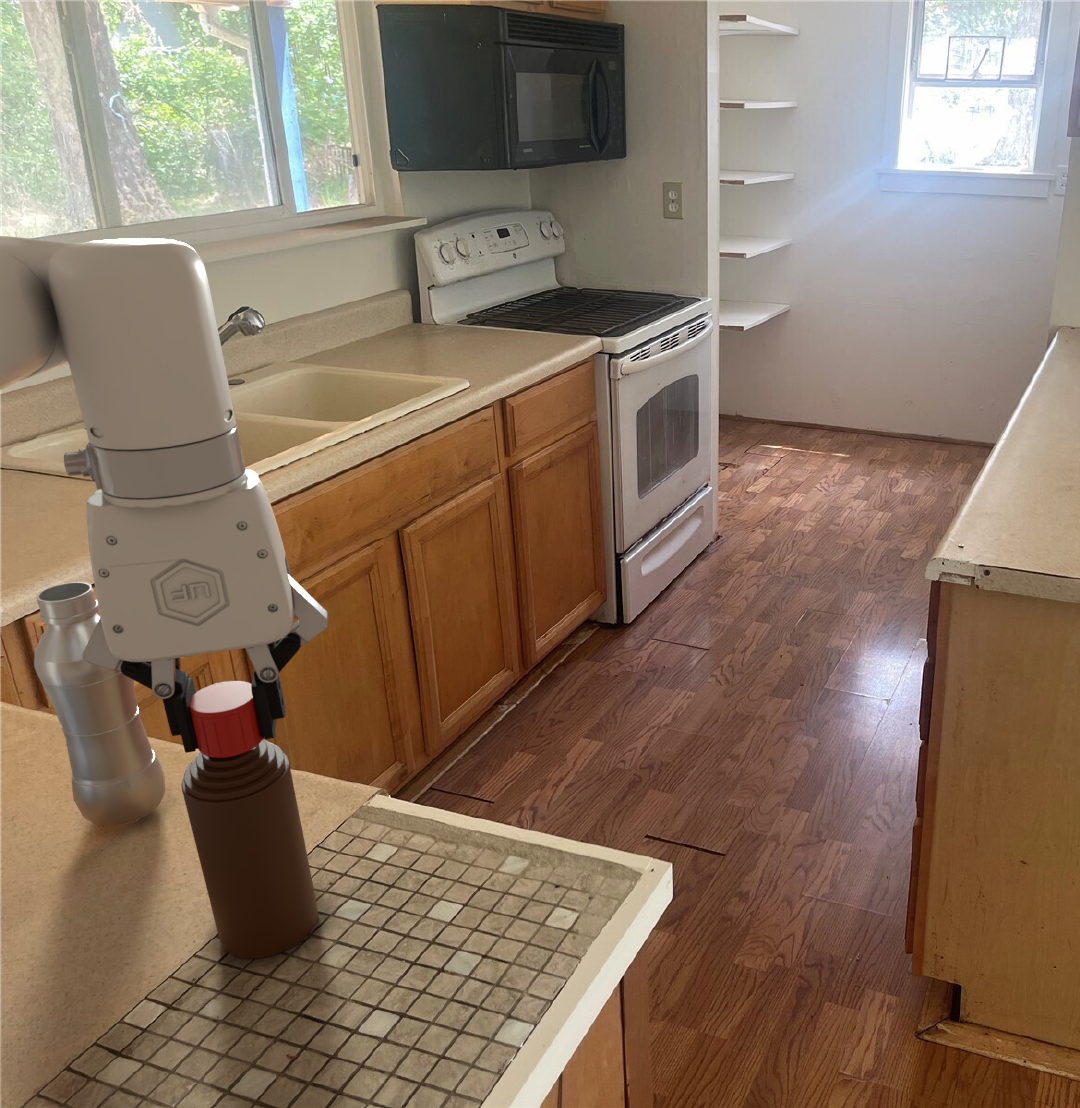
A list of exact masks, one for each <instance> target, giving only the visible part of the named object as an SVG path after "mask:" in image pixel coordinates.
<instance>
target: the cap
mask: <svg viewBox="0 0 1080 1108" xmlns="http://www.w3.org/2000/svg"><path fill="white" fill-rule="evenodd" d="M251 686H252V683H250V682H247V681H243V680H228V681H221V682H216V683H213V684H210V685H208V686H205V687H203V688H201V689H199V690H197V691H196V693H195V694H193V695H192V696H191V698H190V702H189V709H190V714H191V718H192V722H193V727H194V731H195V735H196V740H197V744H198V751H199V753H200V752H201V753H202V754H203V755H205V756H208V757H214V758H224V757H231V756H236V755H239V754H242V753H245V752H247V751H249V750H251V749H253V748H254V747H256V746H257V745H258V744H259V743H260V742H261V741H262V740H263V739H264V738H262V737H261V732H260V728H259V723H258V718H257V714H256V709H255V704H254V700H253V695H252V689H251Z"/></svg>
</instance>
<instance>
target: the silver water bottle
mask: <svg viewBox="0 0 1080 1108" xmlns="http://www.w3.org/2000/svg"><path fill="white" fill-rule="evenodd" d="M95 595H96V594H95V591H94V588H93V586H92V584H90V583H88V582H84V581H71V582H64V583H59V584H56V585H52V586H49V587H47V588H45V589H43V590H41V591H40V592H39V593H38V594H37V595H36V602H37V606H38V608H39V617H40V620H41V621H42V623H44V624H46V627H45V629H44V631H43V633H42V635H41V637H40V639H39V641H38V643H37V646H36V648H35V651H34V659H33V660H34V661H33V667H34V669H35V672H36V675H37V678H38V679H39V681H40V683H41V684H42V687H43V688H44V691H45V693H46V695H47V697H48V698H49V700H50V703H51V705H52V706H53V708H54V711H55V714H56V717H57V719H58V722H59V725H60V726H61V730H62V733H63V735H64V738H65V742H66V748H67V754H68V759H69V763H70V769H71V790H72V798H73V801H74V803H75V805H76V807H77V808H78V810H79V812H80V814H81V816H82V818H84V819H86V820H87V821H89V822H90V823H92V824H94V825H96V826H100V827H118V826H123V825H128V824H131V823H134V822H136V821H139V820H141V819H143V818H145V817H147V816H148V815H150V814H152V813H153V812H154V811H155V810H156V809H157V808H158V807H159V805H160V804H161V802H162V800H163V798H164V796H165V793H166V775H165V771H164V768H163V766H162V764H161V761H160V759H159V758H158V756H157V754H156V753H155V751H154V750H153V748H152V745H151V742H150V740H149V737H148V734H147V732H146V729H145V726H144V723H143V721H142V719H141V714H140V710H139V707H138V700H137V694H136V689H135V680H133V679H131V678H129V677H127V676H125V675H124V674H123V673H122V672H121V671H118V670H115V671H114V670H111V669H107V668H104V667H101V666H98V665H94V664H91V663H88V662H86V661H85V660H84V659H83V652H84V650H85V648H86V646H87V644H88V642H89V639H90V637H91V635H92V633H93V631H94V629H95V627H96V625H97V623H98V621H99V619H100V614H98V613H99V607H98V601H97V597H96V596H95Z"/></svg>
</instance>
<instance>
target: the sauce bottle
mask: <svg viewBox="0 0 1080 1108" xmlns="http://www.w3.org/2000/svg"><path fill="white" fill-rule="evenodd" d="M181 791H182V795H183V800H184V803H185V807H186V812H187V817H188V820H189V823H190V827H191V832H192V835H193V839H194V843H195V847H196V851H197V855H198V859H199V860H198V861H199V864H200V867H201V872H202V876H203V879H204V883H205V888H206V891H207V895H208V899H209V903H210V907H211V911H212V915H213V919H214V923H215V927H216V930H217V935H218V939H219V943H220V945H221V947H222V948H223V950H224V951H226V952H227V953H228V954H229V955H231V956H233V957H237V958H240V959H249V960H250V959H251V960H253V959H262V958H268V957H272V956H275V955H278V954H281V953H283V952H285V951H287V950H289V949H291V948H293V947H294V946H296V945H297V944H299V943H300V942H301V941H302V940H304V939H305V938H306V937H307V936H308V935H309V934H310V932H311V931H312V930H313V929H314V927H315V925H316V923H317V920H318V917H319V908H318V903H317V899H316V894H315V887H314V884H313V883H314V882H313V879H312V873H311V868H310V862H309V856H308V852H307V847H306V841H305V838H304V837H305V836H304V831H303V827H302V822H301V816H300V812H299V806H298V800H297V796H296V792H295V787H294V780H293V775H292V770H291V766H290V760H289V758H288V755H286V753H285V752H284V751H283V750H282V748H281V747H280V746H278V745H276V744H275V743H273V742H270V741H268V740H267V739H265V738H263V740H262V741H261V742H260V743H259V744H258V745H257V746H256V747H254V748H253V749H251V750H249V751H247V752H245V753H242V754H239V755H236V756H231V757H224V758H214V757H208V756H205V755H203V754H202V753H201V752H200V751H199V753H198V754H197V755H196V756H195V757H194V759H193V760H192V762H190V764H189V765H188V766H187V767H186V769H185V771H184V774H183V777H182V781H181Z"/></svg>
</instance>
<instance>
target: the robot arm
mask: <svg viewBox="0 0 1080 1108" xmlns="http://www.w3.org/2000/svg"><path fill="white" fill-rule="evenodd" d="M206 270H207V269H206V267H205V264H204V262H203V260H202V258H201V257H200V255H199V253H198V252H197V251H196V250H195V249H194V248H193V247H192V246H190V245H189V244H187V243H185V242H182V241H177V240H175V239H167V238H152V237H151V238H150V237H149V238H145V237H144V238H143V237H141V238H139V237H138V238H137V237H136V238H117V239H116V238H115V239H103V240H102V239H101V240H90V241H85V242H80V243H79V242H78V243H77V242H64V241H63V242H61V241H54V240H53V241H52V240H44V239H36V238H30V237H29V238H27V237H18V236H7V235H5V236H4V235H0V391H1V390H4V389H6V388H7V387H10V386H12V385H14V384H16V383H19V382H21V381H24V380H26V379H29V378H32V377H35V376H37V375H40V374H43V373H45V372H49V371H50V370H53V369H55V368H58V367H63V366H69V370H70V374H71V378H72V381H73V385H74V389H75V393H76V397H77V400H78V404H79V408H80V411H81V416H82V419H83V423H84V427H85V430H86V435H87V438H88V443H87V444H86V446H85V447H84V448H79V449H78V451H71V452H70V451H68V452H64V454H63V464H64V469H65V471H66V474H67V475H68V476H69V477H72V476H83V477H85V478H91V480H92V482H95V486H96V489H97V490H95V491H94V492H93V493H92V494H91V495H90V496H89V497H88V498H87V500H86V525H87V526H86V527H87V540H88V541H87V542H88V549H89V558H90V565H91V571H92V577H93V584H94V590H95V595H96V596H95V597H96V600H97V601H98V607H99V611H98V613H99V616H100V619H99V621H98V623H97V625H96V627H95V629H94V631H93V633H92V635H91V637H90V639H89V642H88V644H87V646H86V648H85V650H84V652H83V659H84V660H85V661H86V662H88V663H91V664H94V665H98V666H101V667H104V668H107V669H111V670H114V671H115V670H118V671H121V672H122V673H123V674H124V675H125V676H127V677H129V678H131V679H133V680H134V682H137V683H138V684H140V685H142V686H144V687H146V688H148V689H150V690H151V691H152V694H153V696H155V697H156V698H158V699H160V700H162V703H163V707H164V711H165V714H166V719H167V724H168V727H169V730H170V735H171V736H172V737H176V736H180V737H181V741H182V745H183V749H184V752H185V754H187V753H194V752H196V750H197V749H198V744H197V740H196V735H195V731H194V727H193V722H192V718H191V714H190V709H189V702H190V698H191V696H192V695H193V694H195V693H196V692H197V691H196V686H195V683H194V679H193V677H190V675H189V673H186V672H185V671H183V670H182V658H186V657H193V656H201V655H208V654H214V653H221V652H228V651H234V650H241V649H242V650H243V649H245V650H246V653H247V655H248V657H249V660H250V662H251V664H252V666H253V672H252V674H253V675H252V682H251V684H252V686H251V689H252V695H253V700H254V704H255V709H256V714H257V718H258V723H259V728H260V732H261V737H262V738H263V739H264V740H269V739H275V736H276V729H277V721H278V720H279V719H285V718H286V703H285V697H284V692H283V688H282V684H281V678H280V672H281V671H283V669H284V668H285V667H286V666H287V665H288V663H289V662H290V661H291V660H292V659H293V657H294V656H295V655H297V653H298V652H299V651H300V649H301V648H302V647H303V646H304V645H305V644H308V643H309V642H311V641H312V640H313V639H314V638H315V637H317V636H318V635H319V634H321V633H322V632H324V631H325V630H326V629H327V628H328V626H329V623H330V622H329V621H330V620H329V619H330V616H329V615H330V614H329V612H328V611H327V610H326V609H325V608H324V607H323V606H322V605H321V604H320V603H319V602H318V601H317V600H316V599H315V598H314V597H313V596H312V595H310V593H308V591H307V590H305V589H304V588H303V587H302V586H301V585H300V584H299V582H298V581H296V580H295V579H294V578H293V577H292V574H291V570H290V566H289V561H288V558H287V554H286V550H285V546H284V543H283V539H282V536H281V532H280V528H279V526H278V522H277V519H276V516H275V513H274V510H273V507H272V505H271V502H270V499H269V498H268V494H267V492H266V489H265V487H264V485H263V483H262V481H261V479H260V476H259V474H258V473H257V472H256V471H254V470H252V469H246V465H245V460H244V455H243V450H242V444H241V439H240V435H239V434H240V433H239V430H238V429H239V428H238V425H237V420H236V416H235V410H234V406H233V400H232V395H231V391H230V385H229V379H228V373H227V367H226V364H225V358H224V354H223V349H222V344H221V343H222V342H221V339H220V334H219V328H218V323H217V318H216V313H215V308H214V303H213V298H212V292H211V288H210V282H209V278H208V275H207V274H208V273H207V271H206ZM295 617H296V619H297V620H295V621H294V618H295ZM198 750H199V749H198Z"/></svg>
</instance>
